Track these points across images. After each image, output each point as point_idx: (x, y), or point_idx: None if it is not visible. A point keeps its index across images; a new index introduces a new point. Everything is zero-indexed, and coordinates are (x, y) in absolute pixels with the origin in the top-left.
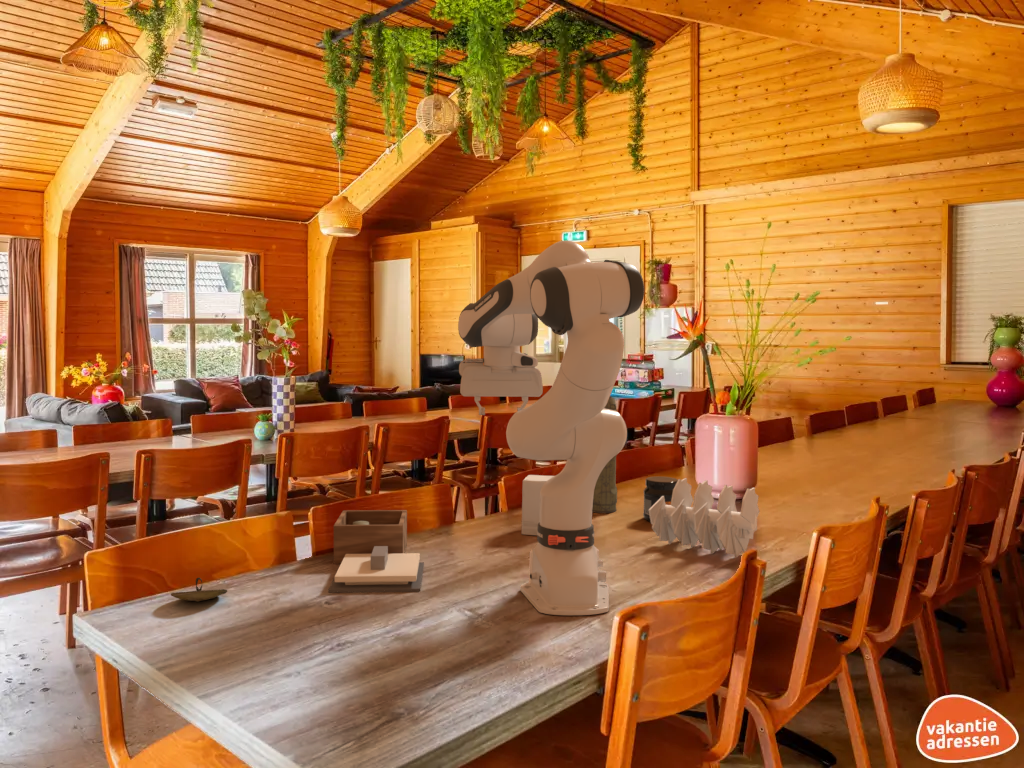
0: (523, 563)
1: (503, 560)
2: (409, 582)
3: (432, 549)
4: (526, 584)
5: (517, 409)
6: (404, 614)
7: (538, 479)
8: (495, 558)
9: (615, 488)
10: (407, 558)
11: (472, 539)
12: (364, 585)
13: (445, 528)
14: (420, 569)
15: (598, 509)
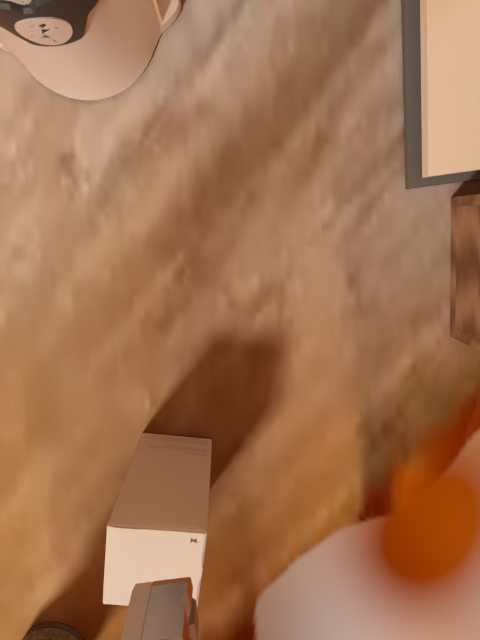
0: (191, 222)
1: (236, 241)
2: None
3: (394, 308)
4: (166, 4)
5: (188, 638)
6: None
7: (158, 548)
8: (255, 254)
9: None
10: (454, 127)
11: (314, 392)
12: None
13: (376, 467)
14: (412, 130)
15: (56, 630)
